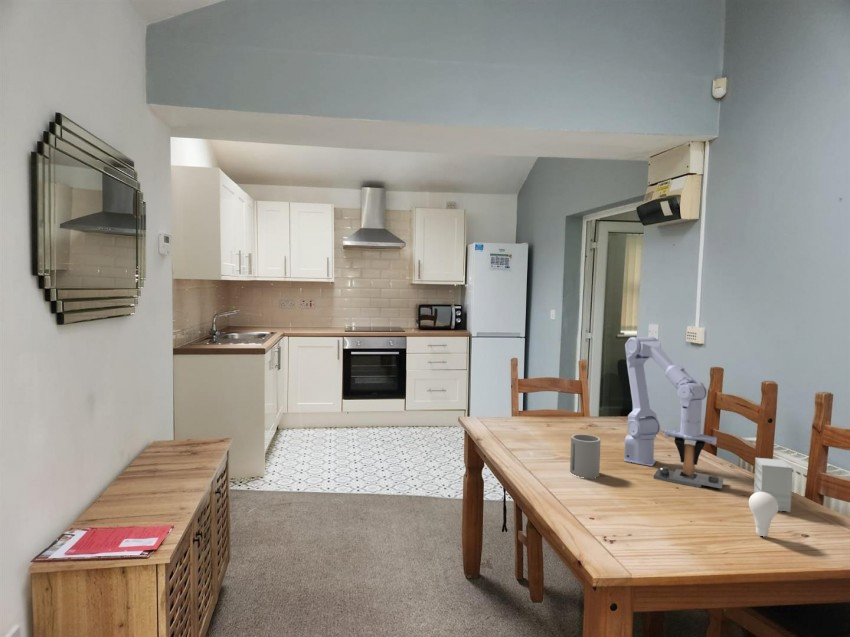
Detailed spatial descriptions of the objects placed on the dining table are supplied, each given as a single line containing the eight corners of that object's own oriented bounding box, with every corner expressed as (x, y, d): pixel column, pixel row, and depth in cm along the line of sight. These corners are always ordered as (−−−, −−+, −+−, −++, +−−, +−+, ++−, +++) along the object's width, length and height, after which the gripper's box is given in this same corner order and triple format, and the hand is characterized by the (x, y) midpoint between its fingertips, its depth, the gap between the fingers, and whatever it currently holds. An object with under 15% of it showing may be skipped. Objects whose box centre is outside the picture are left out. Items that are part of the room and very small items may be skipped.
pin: (682, 473, 165) (683, 445, 165) (684, 471, 168) (685, 443, 168) (693, 475, 163) (694, 447, 163) (695, 473, 166) (696, 445, 166)
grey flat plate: (653, 478, 168) (654, 469, 168) (658, 471, 174) (658, 463, 174) (721, 491, 157) (721, 482, 157) (723, 483, 164) (723, 475, 164)
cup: (603, 474, 171) (605, 438, 171) (591, 481, 164) (592, 443, 164) (578, 467, 177) (579, 432, 177) (565, 473, 171) (566, 437, 170)
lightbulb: (741, 531, 131) (743, 488, 130) (764, 530, 131) (766, 487, 131) (758, 542, 125) (761, 497, 124) (782, 542, 125) (785, 497, 125)
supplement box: (782, 503, 149) (784, 459, 149) (791, 513, 142) (793, 467, 142) (752, 499, 152) (754, 456, 151) (759, 509, 145) (762, 464, 144)
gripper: (663, 419, 165) (662, 461, 166) (715, 426, 158) (713, 470, 158) (667, 415, 171) (665, 456, 172) (717, 421, 163) (715, 464, 164)
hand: (689, 462), depth 165 cm, fingers closed on pin, 3 cm apart
